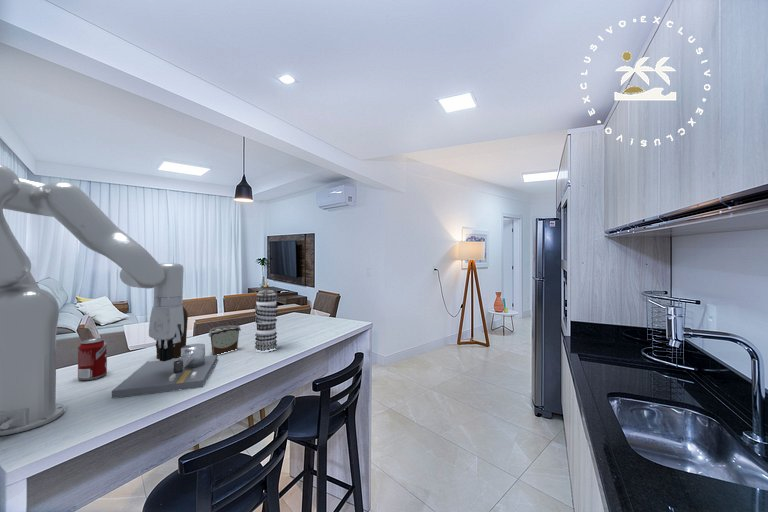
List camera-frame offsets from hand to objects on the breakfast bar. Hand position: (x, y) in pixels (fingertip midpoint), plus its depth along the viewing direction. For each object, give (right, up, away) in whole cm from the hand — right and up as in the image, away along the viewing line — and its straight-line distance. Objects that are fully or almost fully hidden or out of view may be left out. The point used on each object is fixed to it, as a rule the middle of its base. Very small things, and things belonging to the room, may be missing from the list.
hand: (166, 359), depth 96 cm
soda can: (-25, -6, +2) cm, 26 cm away
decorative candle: (+19, -7, +32) cm, 38 cm away
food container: (+2, -7, +29) cm, 29 cm away
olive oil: (-15, -7, +23) cm, 29 cm away
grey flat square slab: (0, -6, +3) cm, 7 cm away
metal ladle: (+6, -4, +2) cm, 7 cm away
